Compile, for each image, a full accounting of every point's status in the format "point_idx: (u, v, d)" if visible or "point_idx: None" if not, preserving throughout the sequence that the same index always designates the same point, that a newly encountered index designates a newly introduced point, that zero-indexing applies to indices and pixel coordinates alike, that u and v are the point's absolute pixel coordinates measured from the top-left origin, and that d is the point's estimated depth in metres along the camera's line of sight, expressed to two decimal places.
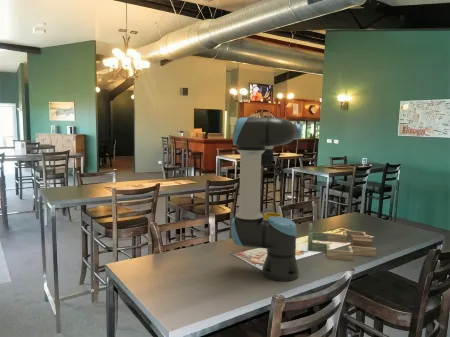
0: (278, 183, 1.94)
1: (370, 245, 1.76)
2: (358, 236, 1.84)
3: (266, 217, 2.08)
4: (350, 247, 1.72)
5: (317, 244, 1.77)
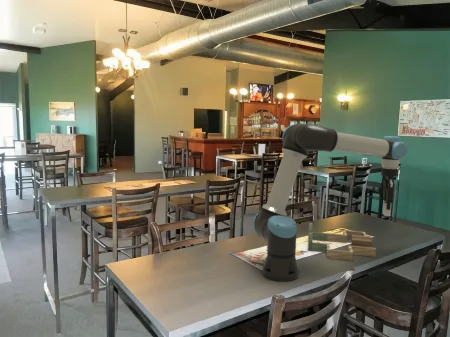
0: (385, 211, 1.75)
1: (369, 245, 1.76)
2: (359, 236, 1.84)
3: None
4: (350, 247, 1.72)
5: (317, 244, 1.77)
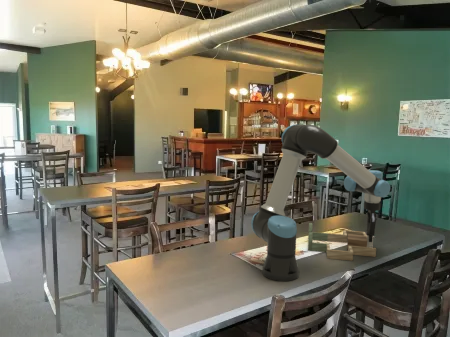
0: (367, 242, 1.80)
1: (365, 244, 1.76)
2: (355, 235, 1.85)
3: None
4: (350, 247, 1.72)
5: (317, 244, 1.77)
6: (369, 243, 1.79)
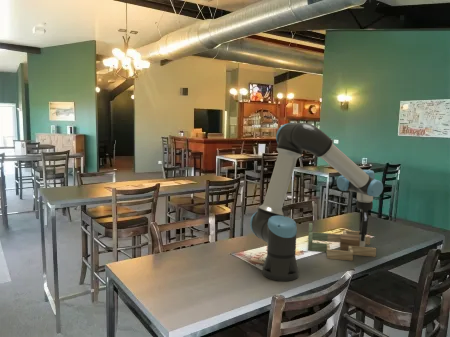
0: (360, 242, 1.81)
1: (357, 244, 1.77)
2: (347, 235, 1.85)
3: None
4: (350, 247, 1.72)
5: (317, 244, 1.77)
6: (361, 242, 1.80)
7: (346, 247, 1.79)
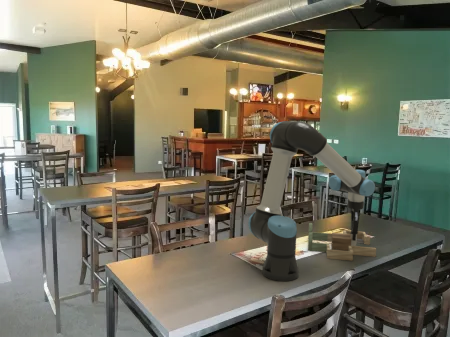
0: (351, 241, 1.81)
1: (349, 243, 1.79)
2: (339, 234, 1.87)
3: None
4: (350, 247, 1.72)
5: (317, 244, 1.77)
6: (353, 242, 1.81)
7: (338, 246, 1.80)
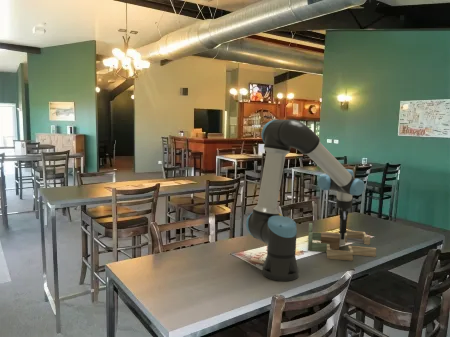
0: (340, 240, 1.83)
1: (337, 242, 1.80)
2: (328, 232, 1.88)
3: None
4: (350, 247, 1.72)
5: (317, 244, 1.77)
6: (341, 241, 1.83)
7: None
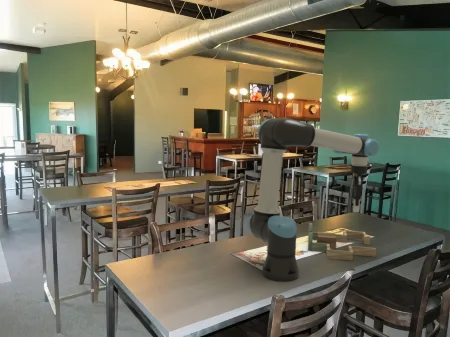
0: (354, 207, 1.79)
1: (334, 241, 1.81)
2: (324, 233, 1.89)
3: None
4: (350, 247, 1.72)
5: (317, 244, 1.77)
6: (356, 207, 1.79)
7: None
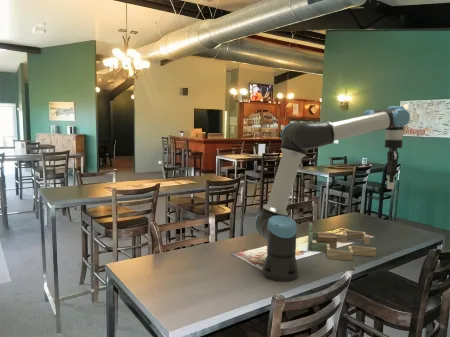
0: (388, 183, 1.71)
1: (335, 241, 1.81)
2: (323, 233, 1.88)
3: None
4: (350, 247, 1.72)
5: (317, 244, 1.77)
6: (390, 184, 1.70)
7: None
